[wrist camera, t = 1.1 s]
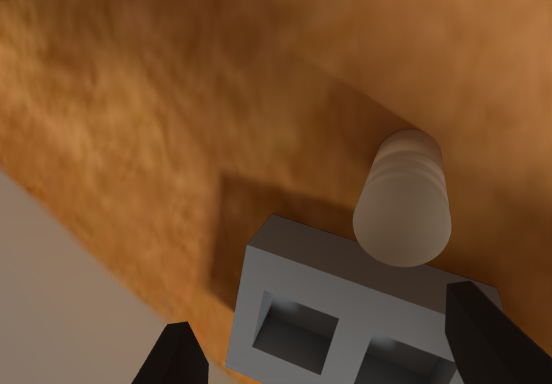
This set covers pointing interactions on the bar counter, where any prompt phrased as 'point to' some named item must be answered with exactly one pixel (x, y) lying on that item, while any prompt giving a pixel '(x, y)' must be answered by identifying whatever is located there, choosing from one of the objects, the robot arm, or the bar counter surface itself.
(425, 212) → the dowel
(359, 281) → the socket block
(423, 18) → the bar counter surface
